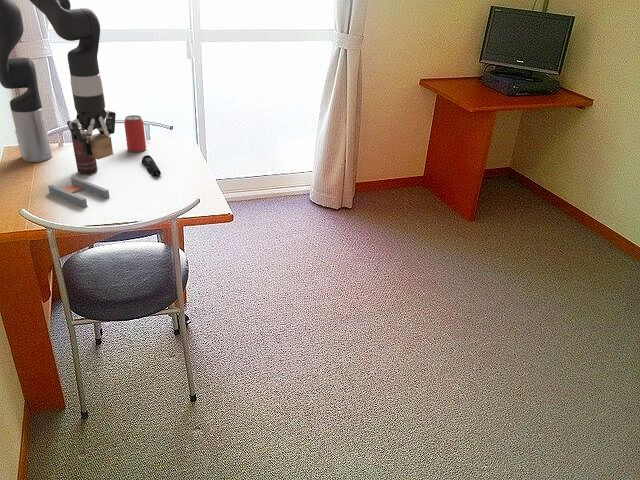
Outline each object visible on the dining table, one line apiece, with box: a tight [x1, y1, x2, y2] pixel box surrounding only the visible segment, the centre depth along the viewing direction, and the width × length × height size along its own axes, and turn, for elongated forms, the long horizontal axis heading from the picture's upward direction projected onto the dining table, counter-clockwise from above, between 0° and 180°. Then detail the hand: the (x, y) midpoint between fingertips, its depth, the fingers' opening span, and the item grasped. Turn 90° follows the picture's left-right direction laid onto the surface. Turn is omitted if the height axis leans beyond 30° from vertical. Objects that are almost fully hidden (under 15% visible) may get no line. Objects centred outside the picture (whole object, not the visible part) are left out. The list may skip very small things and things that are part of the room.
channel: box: [47, 176, 110, 209], centre depth 163 cm, size 16×9×2 cm, turn 58°
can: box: [70, 128, 98, 176], centre depth 176 cm, size 6×6×14 cm
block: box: [89, 132, 114, 160], centre depth 149 cm, size 5×5×5 cm
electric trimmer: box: [141, 154, 162, 177], centre depth 184 cm, size 4×16×3 cm, turn 29°
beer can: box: [123, 114, 147, 153], centre depth 196 cm, size 7×7×12 cm
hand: (97, 152), depth 150 cm, fingers closed on block, 5 cm apart
